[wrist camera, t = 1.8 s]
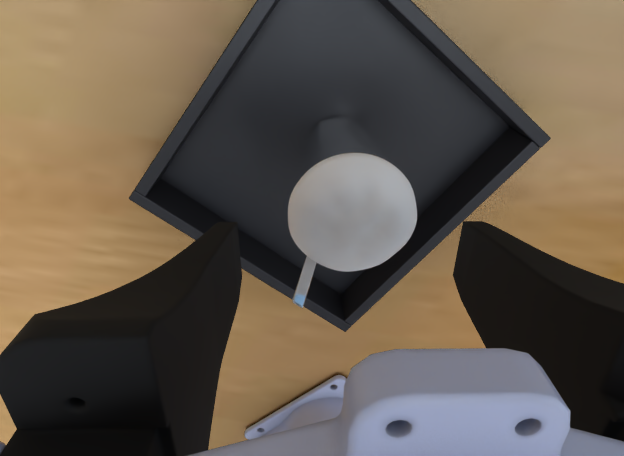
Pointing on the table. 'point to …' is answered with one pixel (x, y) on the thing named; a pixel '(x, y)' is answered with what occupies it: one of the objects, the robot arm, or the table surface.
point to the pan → (327, 104)
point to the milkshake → (347, 203)
